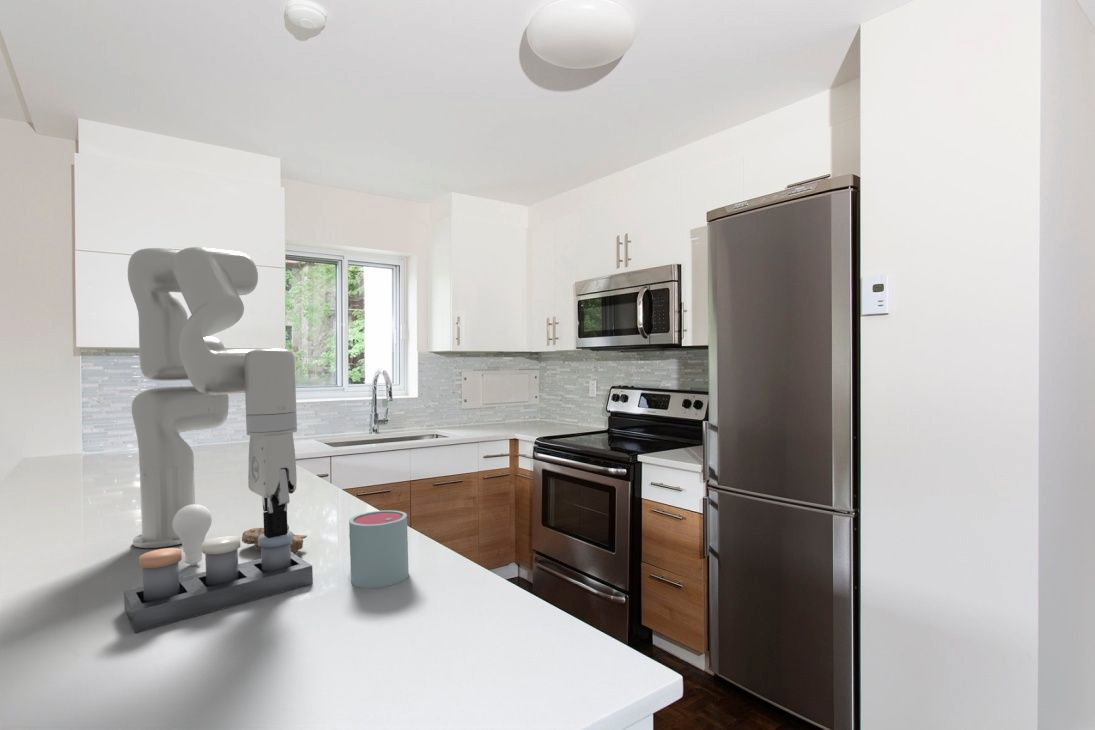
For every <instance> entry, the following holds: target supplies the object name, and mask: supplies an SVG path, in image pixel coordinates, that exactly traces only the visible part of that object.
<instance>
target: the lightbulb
mask: <svg viewBox="0 0 1095 730" xmlns="http://www.w3.org/2000/svg"><path fill="white" fill-rule="evenodd" d="M212 516H213V515H212V514H211V511H210V510H209V509H208V508H207V507H206V506H204V505H203V504H202V505H201V504H198V503H197V504H196V503H195V504H191V505H187V506H185V507H183V508H181V509H180V510H179V511H178V512H177V513H176V515H175V516H174V519H173V523H172V526H173V529H174V531H175V533H176V534H177V536H178V537H179V538H180V540H181V542H182V544H181V545H182V552H183V553H184V559H185V563H186V564H187V565H190V566H192V567H193V566H196V565H198V564H199V563H200V562H201V561H202V559H203V553H202V543H203V542H205V539H206V535H207V534H208V532H209V530H210V528H211V526H212V522H213V517H212Z"/></svg>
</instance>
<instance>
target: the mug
mask: <svg viewBox="0 0 1095 730" xmlns="http://www.w3.org/2000/svg"><path fill="white" fill-rule="evenodd" d="M348 524H349V525H348V526H349V528H348V529H349V531H348V532H349V535H348V536H349V552H350V555H349V558H350V561H349V562H350V582H351V584H352V586H355V587H357V588H361V589H379V588H385V587H390V586H393V585H397V584H399V583H401V582H403V581H406V579H407V578H408V577H409V546H408V545H409V544H408V543H409V541H408V540H409V539H408V538H409V537H408V514H407V513H406V512H405V511H400V510H394V509H393V510H392V509H391V510H388V509H387V510H385V509H384V510H375V511H368V512H364V513H360V514H357V515H354V516H352V517H350V518H349V522H348Z"/></svg>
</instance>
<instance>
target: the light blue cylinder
mask: <svg viewBox="0 0 1095 730" xmlns="http://www.w3.org/2000/svg"><path fill="white" fill-rule="evenodd" d="M293 534H294V533H293V531H291V530H289V531H288V533H287V534H286V535H282V536H277V537H272V538H267V537H266V536H264V534H262V535H260V536H259V537H258V546H259V547H261V550H260V556H261V557H260V559H261V564H262V572H263V573H267V572H271V571H275V570H279V569H283V568H287V567H291V548H290V543H291V542H292V541H293Z"/></svg>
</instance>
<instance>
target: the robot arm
mask: <svg viewBox="0 0 1095 730" xmlns="http://www.w3.org/2000/svg"><path fill="white" fill-rule="evenodd" d="M258 280H259V273H258V268H257V265H256V264H255V261H254V260H253V259H252V258H251V257H250V256H249V255H248V254H246V253H243V252H242V251H235V250H227V249H226V250H225V249H220V248H209V247H203V246H202V247H201V246H193V247H192V246H191V247H186V248H183V249H172V248H161V247H159V248H158V247H157V248H156V247H151V248H150V247H149V248H142V249H139V250H136V251H134V252H133V253H132V255H131V256H130V258H129V261H128V265H127V281H128V286H129V290H130V293H131V295H132V298H133V301H134V303H135V305H136V309H137V314H138V315H137V316H138V346H139V348H138V350H139V365H140V370H141V373H142V375H143V376H144V377H145V378H147V379H149V380H151V381H157V382H158V381H160V382H164V381H165V382H167V381H168V382H170V381H171V382H172V381H173V382H174V381H190V383H191V385H190V386H189V385H188V386H167V387H155V388H150V389H146V390H144V391H141V392H140V393H138V394H137V395H136V396H135V397H134V398H133V400H132V403H131V415H132V420H133V424H134V428H135V429H134V430H135V432H136V439H137V445H138V447H137V449H138V461H139V462H138V463H139V464H138V465H139V481H140V482H139V483H140V484H139V486H140V511H141V514H140V515H141V533H139V534H137V535H136V536H135V537H133V539H132V545H133V546H134V547H136V548H141V549H142V548H143V549H155V548H156V549H158V548H159V549H160V548H168V547H172V546H178V545H182V542H181V540H180V538H179V537H178V536H177V534H176V533H175V531H174V529H173V526H172V523H173V519H174V516H175V515H176V513H177V512H178V511H179V510H180V509H181V508H183V507H185V506H187V505H191V504H196V488H195V487H196V486H195V485H196V484H195V483H196V481H195V460H194V459H195V458H194V452H193V449H192V447H191V446H190V444H189V443H188V442H187V441H185V439H184V438H183V437H182V436H181V435H180V434H181V433H186V432H192V431H193V432H194V431H202V430H209V429H215V428H218V427H221V426H223V425H224V423H225V422H226V421H227V419H228V415H229V408H230V407H229V402H230V401H229V400H230V399H229V395H230V394H231V395H232V394H244V397H245V422H246V426H245V427H246V436H249V443H248V469H247V470H248V474H247V475H248V477H247V479H248V483H247V484H248V489H249V490H250V491H251V492H252V493H254V494H256V495H258V496H260V497H261V502H262V510H263V514H262V515H263V518H262V519H263V528H264V536H266V537H267V538H272V537H277V536H282V535H286V534H287V533H288V528H287V524H288V504H290V494H293V493H295V492H296V491H297V478H298V477H297V476H298V475H297V463H296V462H297V461H296V460H297V459H296V450H295V441H294V440H295V439H294V434H293V433H296V432H297V431H298V422H297V420H298V418H297V415H298V414H297V393H296V391H297V390H296V366H295V365H296V364H295V363H296V361H295V355H294V353H293V352H292V351H291V350H289V349H287V348H258V349H257V348H250V349H249V348H226V347H225V345H224V344H223V342H222V341H221V339H218V338H217V337H214V336H212V335H215V334H218V333H220V332H222V331H225V330H227V329H229V328H231V327H233V326H234V325H236V324H237V323H238V322H239V321H240V320H241V318H242V317H243V315H244V312H245V305H244V302H243V301H242V299H241V297H240V296H247V295H249V294H251V293H253V291H254V290H255V289H256V287H257V286H258V285H257V284H258V282H259V281H258ZM173 293H181V294H182V296H183V299H184V302H185V304H186V305H187V308H188V310H189V312H190V314H191V315H190V316H189V317H188V313H187V311H186V308H185V307H184V306H183V304H182V303H181V301H180V300H179V299H178V298H177V297H176V295H174V294H173Z"/></svg>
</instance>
